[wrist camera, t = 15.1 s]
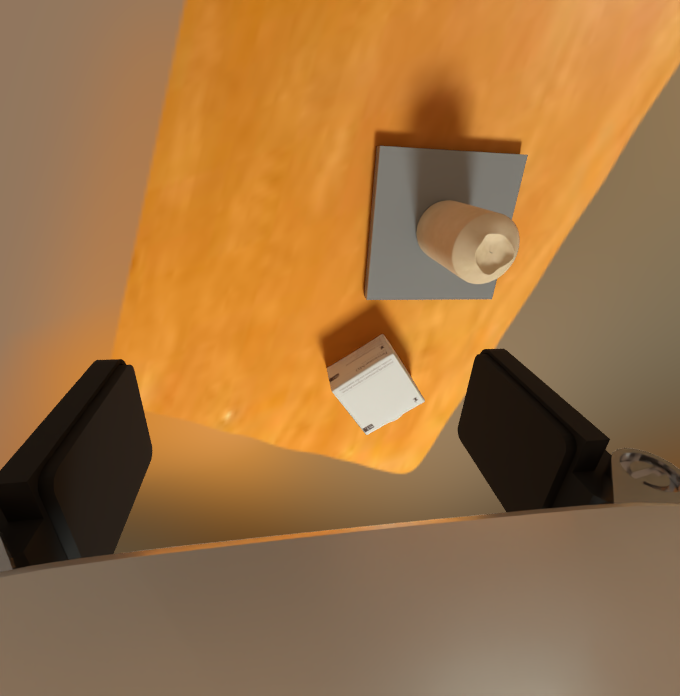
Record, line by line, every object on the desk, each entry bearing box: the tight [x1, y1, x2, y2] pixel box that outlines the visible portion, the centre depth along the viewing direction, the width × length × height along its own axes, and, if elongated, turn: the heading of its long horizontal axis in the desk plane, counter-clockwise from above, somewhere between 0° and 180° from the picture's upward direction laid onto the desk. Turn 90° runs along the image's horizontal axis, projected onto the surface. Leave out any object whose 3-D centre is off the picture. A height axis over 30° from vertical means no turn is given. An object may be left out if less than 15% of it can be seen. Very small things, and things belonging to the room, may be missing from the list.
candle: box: [416, 200, 519, 284], centre depth 32 cm, size 6×6×10 cm
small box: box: [327, 334, 425, 435], centre depth 42 cm, size 8×8×5 cm
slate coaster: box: [364, 146, 528, 300], centre depth 37 cm, size 14×14×1 cm
